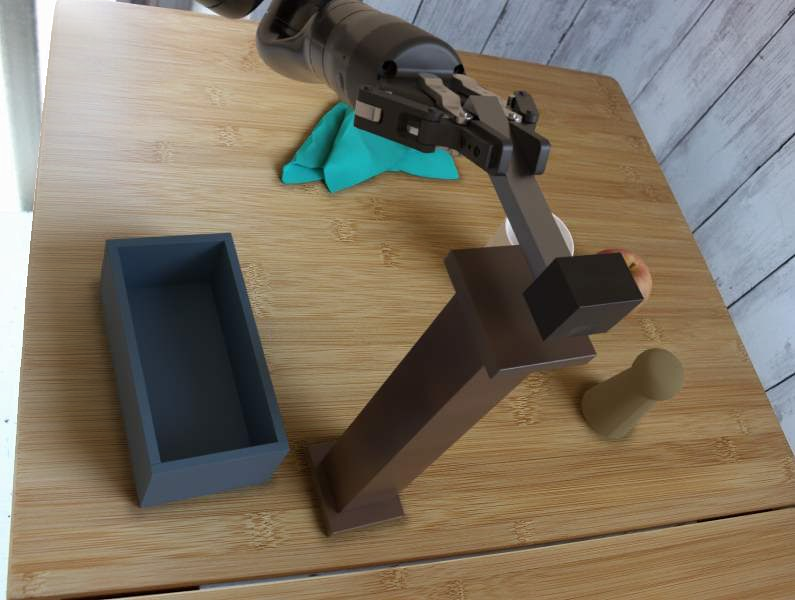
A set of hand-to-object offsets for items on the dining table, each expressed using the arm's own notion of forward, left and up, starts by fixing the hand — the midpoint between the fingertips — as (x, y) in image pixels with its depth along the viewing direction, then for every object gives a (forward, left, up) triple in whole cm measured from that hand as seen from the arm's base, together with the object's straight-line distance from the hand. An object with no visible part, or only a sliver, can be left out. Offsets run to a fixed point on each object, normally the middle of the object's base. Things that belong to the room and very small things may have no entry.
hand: (523, 159), depth 48 cm
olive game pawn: (+16, -26, -37) cm, 48 cm away
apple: (+30, -22, -37) cm, 53 cm away
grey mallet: (-2, -2, -2) cm, 3 cm away
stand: (-5, -4, -37) cm, 38 cm away
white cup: (+24, -10, -37) cm, 45 cm away
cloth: (+35, +10, -37) cm, 52 cm away
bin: (-4, +13, -37) cm, 39 cm away
